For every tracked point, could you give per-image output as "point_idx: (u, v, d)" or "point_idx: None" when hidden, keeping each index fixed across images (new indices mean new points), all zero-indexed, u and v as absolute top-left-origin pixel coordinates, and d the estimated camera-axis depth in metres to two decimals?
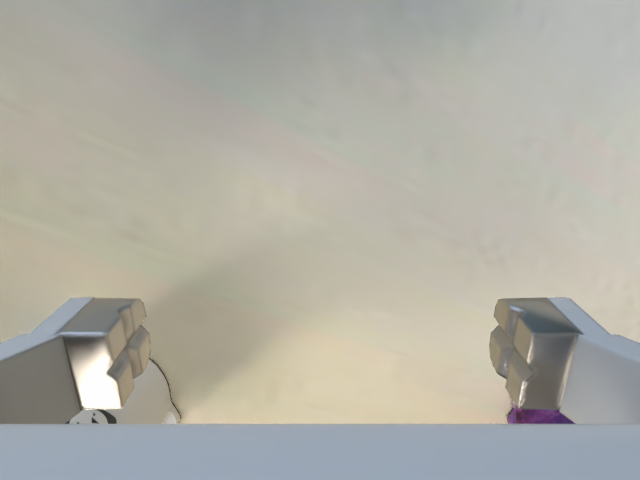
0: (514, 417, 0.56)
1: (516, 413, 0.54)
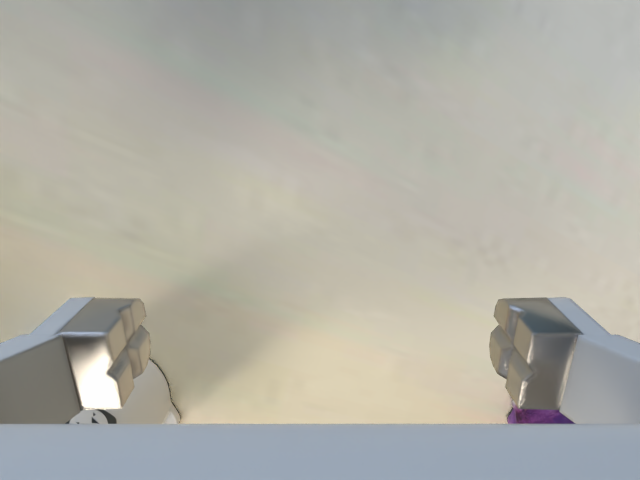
0: (514, 417, 0.56)
1: (516, 413, 0.54)
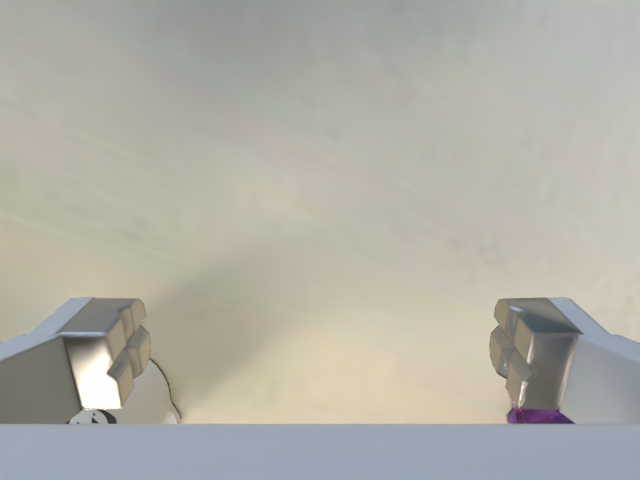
0: (514, 417, 0.56)
1: (516, 413, 0.54)
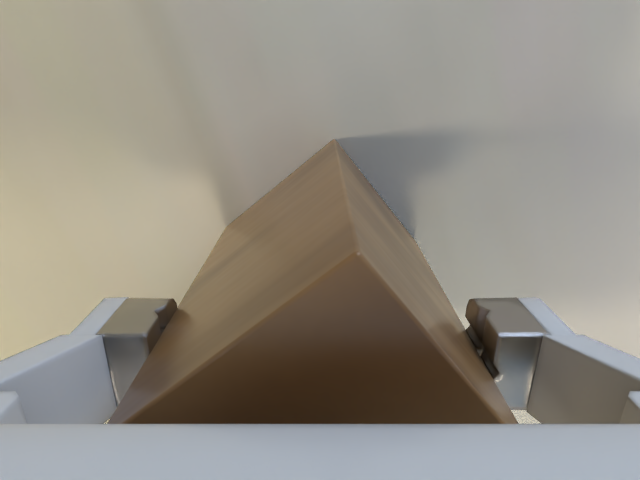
0: None
1: None
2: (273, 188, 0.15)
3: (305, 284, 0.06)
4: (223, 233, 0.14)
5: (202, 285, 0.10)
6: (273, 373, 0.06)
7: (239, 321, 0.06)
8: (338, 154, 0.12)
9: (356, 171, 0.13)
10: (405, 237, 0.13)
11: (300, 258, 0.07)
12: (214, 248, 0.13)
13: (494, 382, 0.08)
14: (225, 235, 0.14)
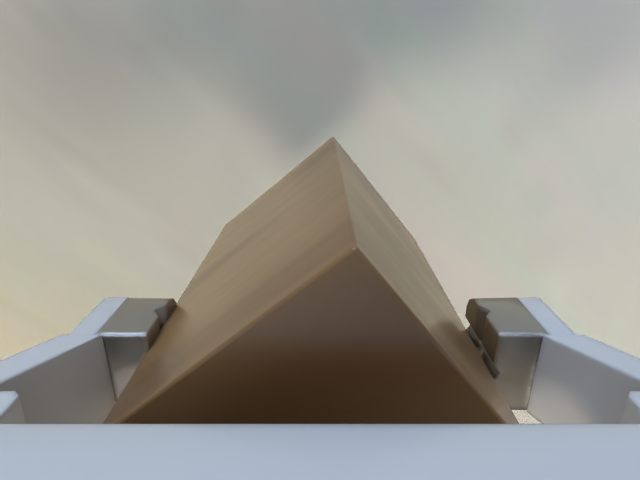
0: None
1: None
2: None
3: (302, 281, 0.06)
4: (222, 231, 0.14)
5: (200, 283, 0.10)
6: (269, 370, 0.06)
7: (236, 318, 0.06)
8: (337, 151, 0.12)
9: (355, 169, 0.13)
10: (404, 235, 0.13)
11: (298, 255, 0.07)
12: (213, 246, 0.13)
13: (493, 380, 0.08)
14: (224, 233, 0.14)
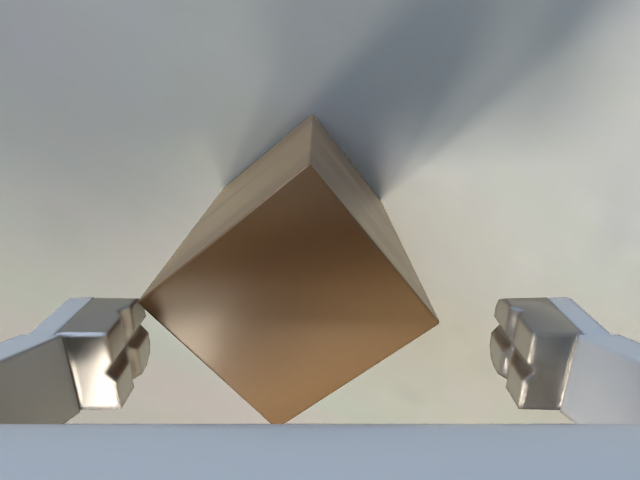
0: None
1: None
2: None
3: (277, 187, 0.09)
4: (221, 192, 0.18)
5: (206, 219, 0.13)
6: (256, 248, 0.09)
7: (235, 218, 0.09)
8: (312, 122, 0.15)
9: (329, 139, 0.16)
10: (367, 191, 0.16)
11: (275, 179, 0.10)
12: (214, 201, 0.16)
13: (418, 280, 0.12)
14: (223, 192, 0.17)
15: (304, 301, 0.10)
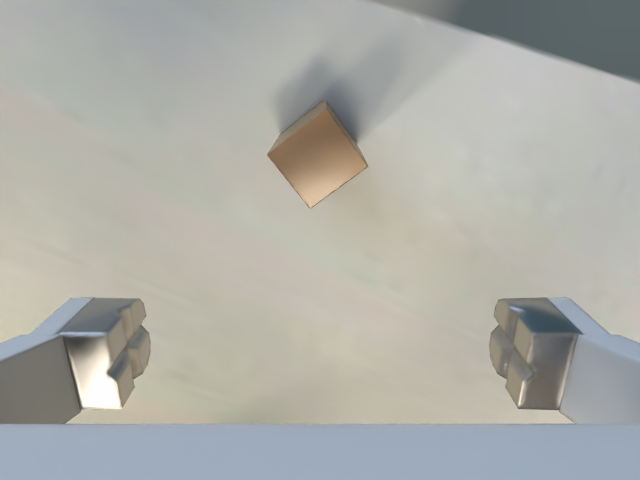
0: None
1: None
2: None
3: (315, 115, 0.28)
4: None
5: (281, 138, 0.32)
6: (308, 136, 0.28)
7: (300, 127, 0.28)
8: None
9: (332, 110, 0.35)
10: (349, 134, 0.35)
11: (314, 115, 0.29)
12: (278, 137, 0.35)
13: (364, 159, 0.31)
14: (281, 134, 0.36)
15: (322, 156, 0.29)
